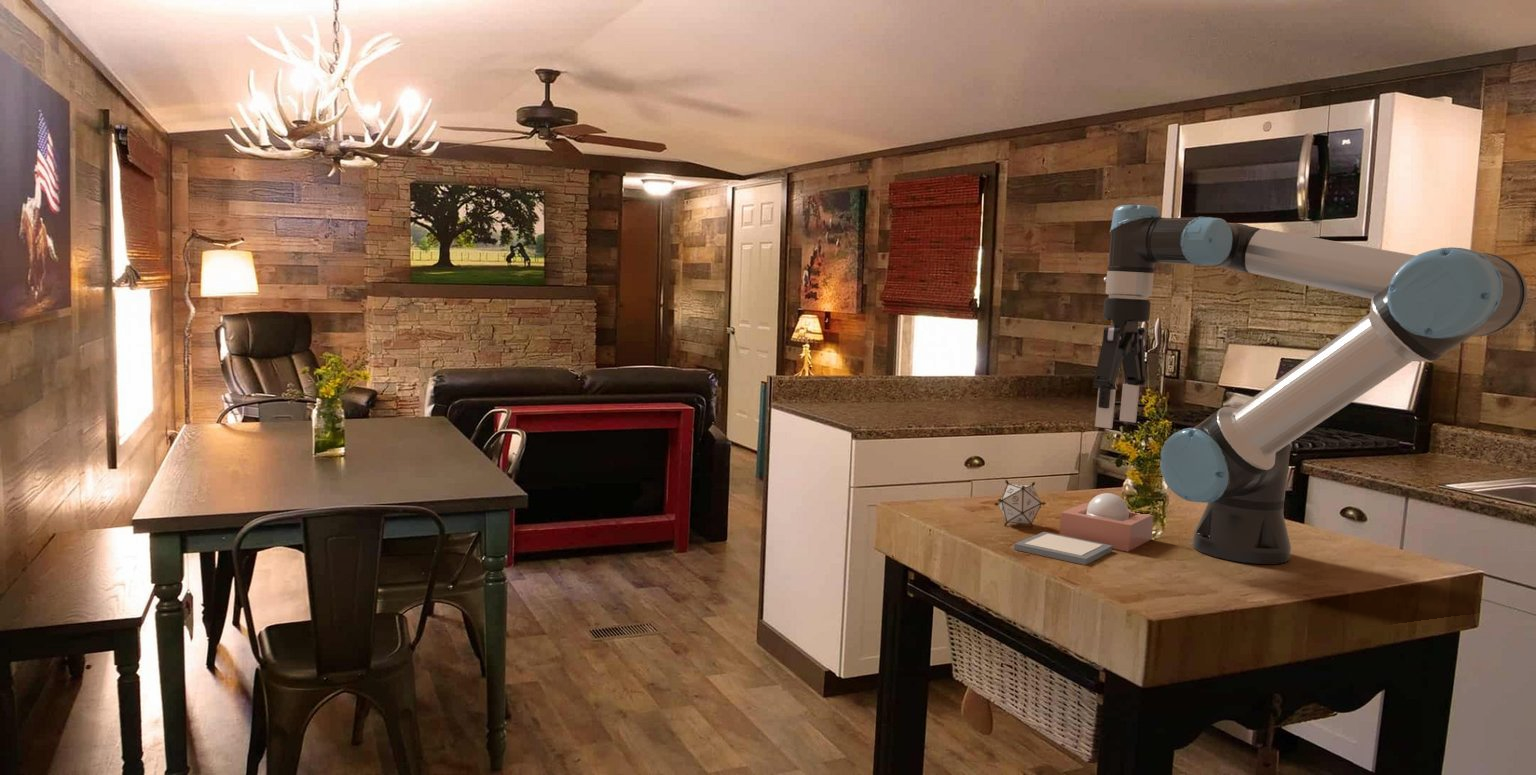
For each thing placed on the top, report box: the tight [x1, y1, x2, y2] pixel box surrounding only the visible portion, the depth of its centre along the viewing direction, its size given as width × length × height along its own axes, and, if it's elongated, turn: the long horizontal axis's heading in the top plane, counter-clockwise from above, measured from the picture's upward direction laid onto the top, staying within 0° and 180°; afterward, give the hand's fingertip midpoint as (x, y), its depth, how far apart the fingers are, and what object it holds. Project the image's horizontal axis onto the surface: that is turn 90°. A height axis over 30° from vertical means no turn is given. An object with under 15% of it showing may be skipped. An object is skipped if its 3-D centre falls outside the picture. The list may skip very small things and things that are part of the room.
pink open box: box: [1058, 502, 1154, 553], centre depth 183 cm, size 12×12×4 cm
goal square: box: [1013, 531, 1113, 566], centre depth 173 cm, size 12×12×1 cm
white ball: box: [1087, 492, 1130, 521], centre depth 182 cm, size 7×7×7 cm
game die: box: [993, 479, 1047, 529], centre depth 189 cm, size 9×8×10 cm
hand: (1115, 424), depth 181 cm, fingers open, 11 cm apart
